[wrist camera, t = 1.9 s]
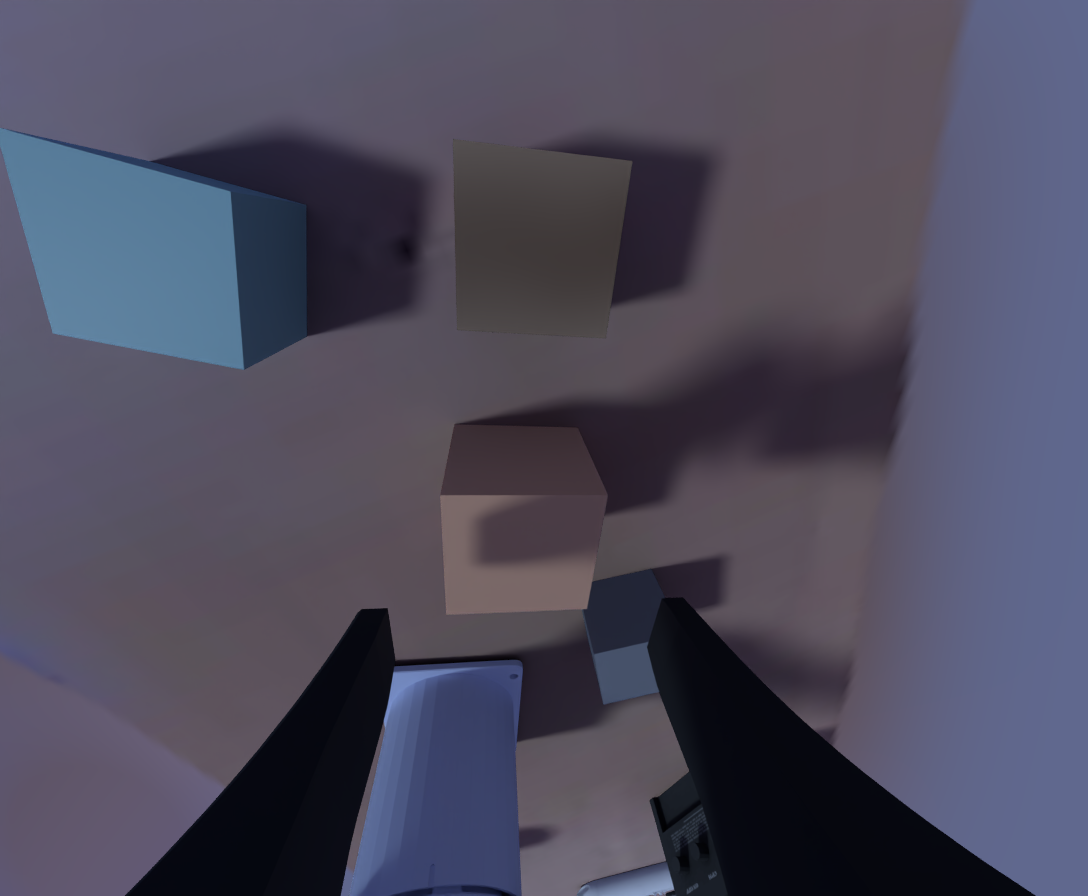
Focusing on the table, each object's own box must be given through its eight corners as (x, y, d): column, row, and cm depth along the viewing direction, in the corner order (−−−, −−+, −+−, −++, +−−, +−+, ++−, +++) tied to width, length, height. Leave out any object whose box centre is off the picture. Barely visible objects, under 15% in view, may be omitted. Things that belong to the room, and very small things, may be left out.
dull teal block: (308, 335, 14) (244, 369, 10) (173, 307, 13) (52, 333, 9) (307, 205, 12) (230, 191, 8) (152, 162, 11) (-5, 126, 8)
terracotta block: (564, 522, 19) (586, 609, 14) (457, 523, 18) (446, 614, 14) (577, 426, 17) (607, 495, 12) (454, 423, 16) (440, 495, 11)
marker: (575, 887, 43) (579, 920, 41) (570, 881, 42) (574, 914, 40) (737, 844, 42) (750, 875, 40) (737, 837, 41) (750, 869, 39)
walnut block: (578, 313, 14) (605, 338, 11) (465, 306, 14) (457, 330, 10) (593, 181, 13) (632, 161, 9) (464, 167, 12) (452, 139, 8)
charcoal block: (653, 617, 23) (683, 686, 19) (586, 632, 23) (603, 704, 19) (650, 567, 21) (682, 634, 17) (576, 584, 21) (593, 654, 17)
